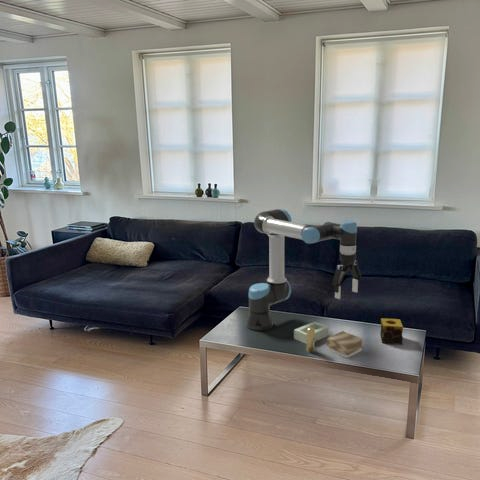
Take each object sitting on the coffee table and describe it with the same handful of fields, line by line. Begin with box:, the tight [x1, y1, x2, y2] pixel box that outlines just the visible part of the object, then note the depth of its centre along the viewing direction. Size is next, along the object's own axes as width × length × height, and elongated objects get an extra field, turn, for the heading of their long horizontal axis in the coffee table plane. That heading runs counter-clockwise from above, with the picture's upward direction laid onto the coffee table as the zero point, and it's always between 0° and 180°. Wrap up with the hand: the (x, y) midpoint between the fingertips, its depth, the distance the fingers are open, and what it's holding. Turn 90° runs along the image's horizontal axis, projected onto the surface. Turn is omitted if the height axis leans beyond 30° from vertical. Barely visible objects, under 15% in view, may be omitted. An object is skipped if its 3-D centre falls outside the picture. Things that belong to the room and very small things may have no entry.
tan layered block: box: [326, 330, 363, 355], centre depth 225 cm, size 12×12×5 cm
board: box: [326, 346, 363, 359], centre depth 226 cm, size 12×12×2 cm
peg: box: [305, 327, 316, 353], centre depth 225 cm, size 4×4×12 cm
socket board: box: [293, 321, 330, 345], centre depth 241 cm, size 10×16×5 cm, turn 130°
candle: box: [379, 317, 404, 346], centre depth 235 cm, size 10×10×10 cm
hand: (346, 295), depth 223 cm, fingers open, 13 cm apart
